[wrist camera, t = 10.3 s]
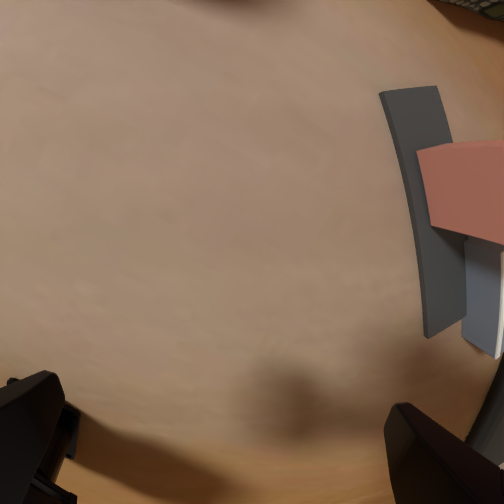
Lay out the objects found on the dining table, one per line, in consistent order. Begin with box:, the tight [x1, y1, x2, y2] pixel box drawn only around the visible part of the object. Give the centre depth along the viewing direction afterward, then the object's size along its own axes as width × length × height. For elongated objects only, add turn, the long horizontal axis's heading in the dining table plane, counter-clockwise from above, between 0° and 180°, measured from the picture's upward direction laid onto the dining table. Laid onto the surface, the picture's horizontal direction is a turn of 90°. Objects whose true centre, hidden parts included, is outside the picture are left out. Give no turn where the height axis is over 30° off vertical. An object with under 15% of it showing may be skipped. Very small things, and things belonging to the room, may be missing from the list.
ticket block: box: [379, 86, 504, 359], centre depth 18 cm, size 8×20×5 cm, turn 18°
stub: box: [416, 140, 504, 245], centre depth 13 cm, size 3×5×10 cm, turn 18°
